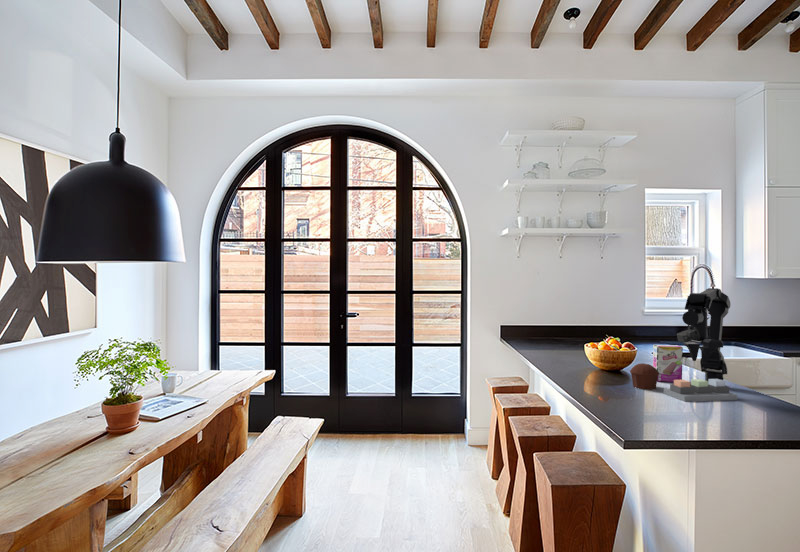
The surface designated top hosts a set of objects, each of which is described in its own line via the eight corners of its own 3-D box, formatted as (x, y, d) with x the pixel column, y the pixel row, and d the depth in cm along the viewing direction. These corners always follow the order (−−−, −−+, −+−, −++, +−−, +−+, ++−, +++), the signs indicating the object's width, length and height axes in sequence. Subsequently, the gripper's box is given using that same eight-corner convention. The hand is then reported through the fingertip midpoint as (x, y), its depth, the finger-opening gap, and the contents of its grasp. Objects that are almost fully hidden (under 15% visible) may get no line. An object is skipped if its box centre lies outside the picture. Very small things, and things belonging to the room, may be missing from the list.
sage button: (691, 386, 187) (691, 379, 187) (700, 386, 187) (700, 379, 187) (698, 389, 183) (698, 381, 183) (707, 388, 183) (707, 381, 184)
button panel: (663, 393, 190) (663, 382, 190) (713, 392, 192) (713, 381, 192) (684, 401, 178) (684, 389, 178) (737, 399, 180) (737, 388, 180)
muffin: (663, 391, 194) (663, 367, 194) (634, 389, 196) (634, 366, 196) (653, 384, 206) (653, 362, 206) (626, 383, 208) (626, 361, 208)
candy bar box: (657, 382, 211) (657, 346, 211) (652, 379, 216) (652, 344, 216) (683, 382, 210) (683, 346, 210) (677, 380, 215) (677, 344, 215)
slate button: (708, 386, 188) (708, 379, 188) (717, 386, 188) (717, 378, 188) (716, 388, 184) (716, 381, 184) (725, 388, 184) (725, 380, 184)
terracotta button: (673, 387, 186) (673, 379, 186) (683, 387, 187) (683, 379, 187) (680, 389, 182) (680, 382, 182) (690, 389, 183) (690, 381, 183)
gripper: (665, 321, 198) (665, 358, 198) (697, 326, 179) (697, 366, 179) (689, 321, 199) (689, 358, 199) (724, 326, 181) (724, 366, 181)
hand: (698, 362), depth 190 cm, fingers open, 5 cm apart
